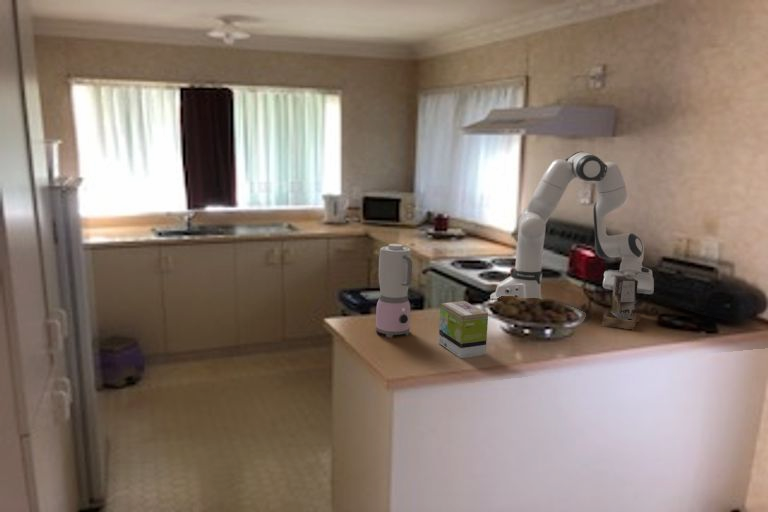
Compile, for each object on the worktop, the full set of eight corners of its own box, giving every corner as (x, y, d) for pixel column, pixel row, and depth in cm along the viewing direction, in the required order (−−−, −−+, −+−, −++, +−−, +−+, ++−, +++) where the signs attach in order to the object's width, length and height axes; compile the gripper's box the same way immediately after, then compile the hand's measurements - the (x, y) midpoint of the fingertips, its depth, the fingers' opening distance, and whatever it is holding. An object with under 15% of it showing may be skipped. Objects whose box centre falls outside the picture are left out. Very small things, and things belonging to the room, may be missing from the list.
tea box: (437, 344, 203) (439, 302, 200) (462, 340, 207) (465, 299, 204) (460, 359, 189) (462, 314, 186) (486, 355, 193) (489, 311, 190)
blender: (368, 330, 215) (371, 243, 209) (396, 325, 222) (399, 240, 215) (393, 343, 202) (396, 250, 196) (421, 337, 209) (426, 248, 203)
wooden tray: (598, 325, 230) (599, 316, 229) (602, 316, 241) (603, 308, 240) (636, 331, 224) (637, 322, 223) (639, 322, 235) (640, 313, 234)
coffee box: (634, 320, 238) (638, 280, 235) (618, 319, 238) (622, 280, 235) (625, 313, 247) (629, 275, 244) (610, 312, 247) (614, 275, 244)
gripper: (604, 265, 259) (599, 291, 252) (655, 270, 250) (652, 298, 243) (604, 273, 263) (600, 299, 257) (655, 278, 255) (651, 306, 248)
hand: (625, 298), depth 250 cm, fingers closed
